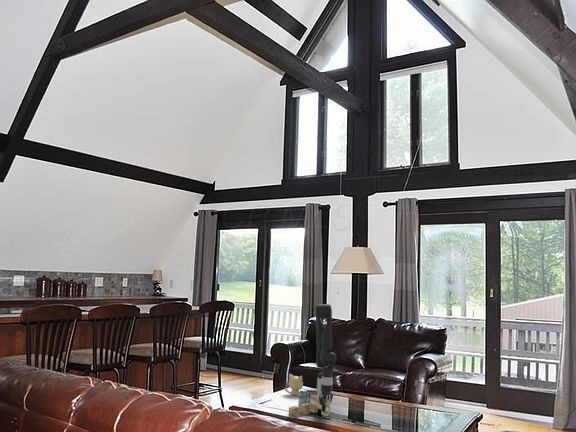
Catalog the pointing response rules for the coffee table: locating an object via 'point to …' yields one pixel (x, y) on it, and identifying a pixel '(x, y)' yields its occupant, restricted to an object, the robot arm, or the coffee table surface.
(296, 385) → the kitten
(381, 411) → the coffee table surface
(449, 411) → the coffee table surface
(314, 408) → the birch slotted plate
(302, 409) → the oak slotted rail
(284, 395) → the coffee table surface
